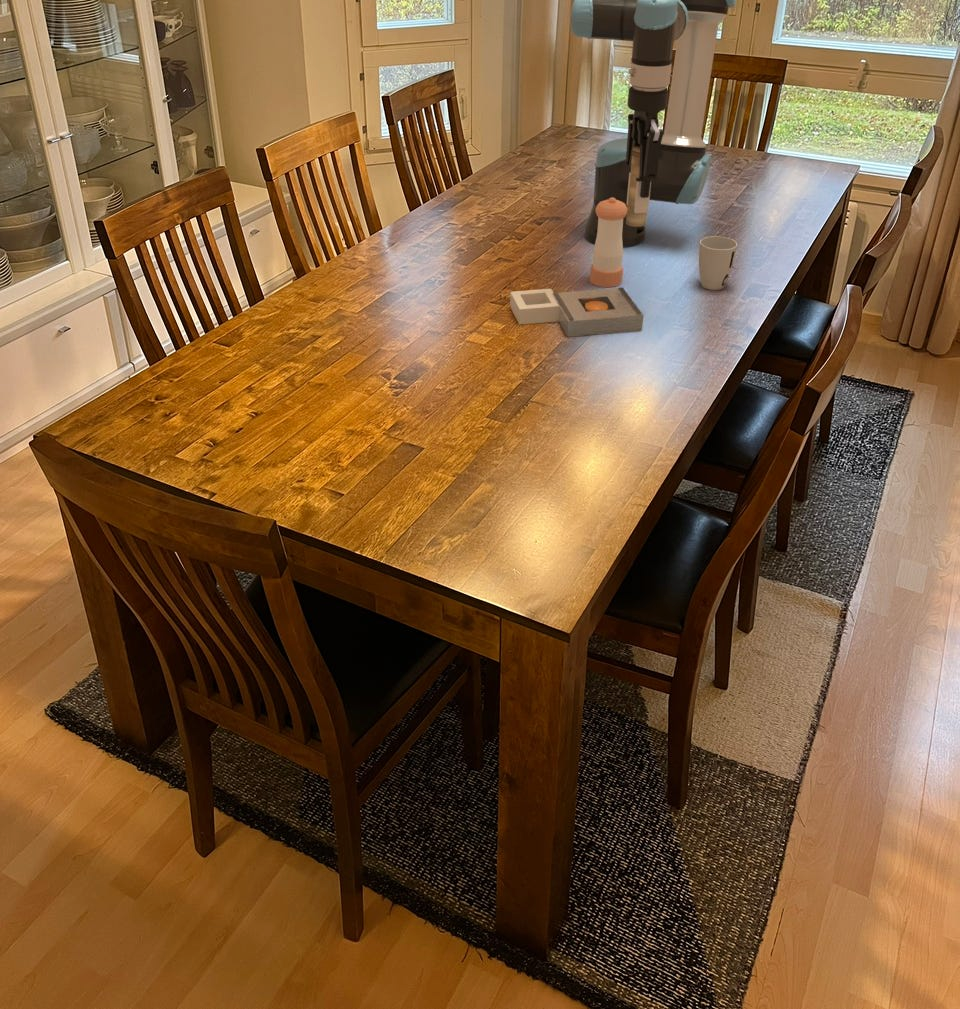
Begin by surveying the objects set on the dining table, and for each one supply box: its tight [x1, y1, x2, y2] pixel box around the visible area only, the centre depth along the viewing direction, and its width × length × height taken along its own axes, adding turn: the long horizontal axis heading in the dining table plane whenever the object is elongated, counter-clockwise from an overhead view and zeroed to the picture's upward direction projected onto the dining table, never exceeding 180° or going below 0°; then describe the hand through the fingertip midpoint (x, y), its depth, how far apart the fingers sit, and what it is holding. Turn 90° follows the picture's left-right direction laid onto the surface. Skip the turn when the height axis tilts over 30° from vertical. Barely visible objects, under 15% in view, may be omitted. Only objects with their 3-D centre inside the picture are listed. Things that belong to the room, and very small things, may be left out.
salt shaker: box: [589, 198, 627, 288], centre depth 222 cm, size 7×7×19 cm
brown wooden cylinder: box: [626, 146, 648, 227], centre depth 200 cm, size 4×4×15 cm
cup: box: [698, 235, 738, 291], centre depth 223 cm, size 8×8×10 cm
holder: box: [509, 288, 560, 326], centre depth 213 cm, size 9×9×4 cm
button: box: [585, 301, 608, 312], centre depth 210 cm, size 5×5×1 cm
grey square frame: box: [552, 287, 645, 338], centre depth 211 cm, size 14×16×4 cm
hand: (637, 208), depth 203 cm, fingers closed on brown wooden cylinder, 4 cm apart
